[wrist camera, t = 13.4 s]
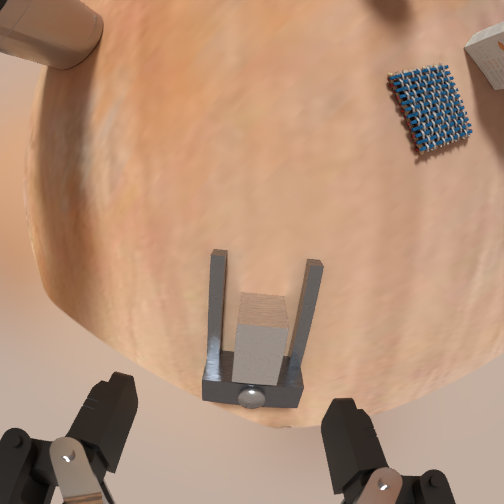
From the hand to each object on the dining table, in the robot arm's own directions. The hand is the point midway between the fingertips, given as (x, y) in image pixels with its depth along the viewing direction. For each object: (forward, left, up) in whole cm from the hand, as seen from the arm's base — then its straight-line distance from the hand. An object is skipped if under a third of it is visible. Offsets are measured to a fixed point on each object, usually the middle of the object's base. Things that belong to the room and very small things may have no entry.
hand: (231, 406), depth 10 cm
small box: (+31, +32, -23) cm, 50 cm away
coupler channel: (+2, -10, -22) cm, 25 cm away
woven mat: (+20, +20, -23) cm, 36 cm away
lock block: (+2, -10, -22) cm, 25 cm away
